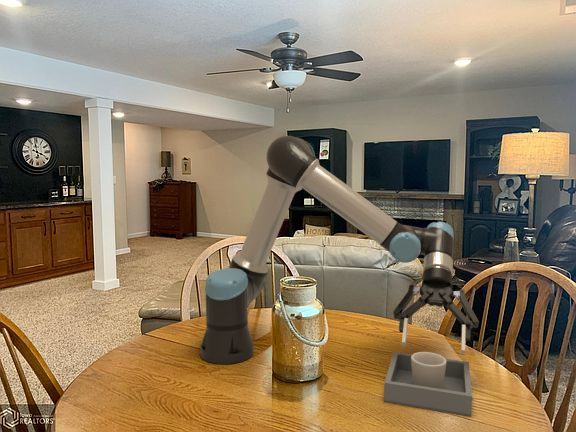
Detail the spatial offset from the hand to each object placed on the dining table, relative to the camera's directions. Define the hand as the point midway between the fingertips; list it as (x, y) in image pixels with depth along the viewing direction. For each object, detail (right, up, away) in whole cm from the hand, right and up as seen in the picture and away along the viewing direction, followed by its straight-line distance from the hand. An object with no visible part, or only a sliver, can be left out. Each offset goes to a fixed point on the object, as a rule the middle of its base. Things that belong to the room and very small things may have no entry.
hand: (432, 348), depth 109 cm
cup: (-2, -9, 0) cm, 10 cm away
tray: (-1, -10, -1) cm, 10 cm away
